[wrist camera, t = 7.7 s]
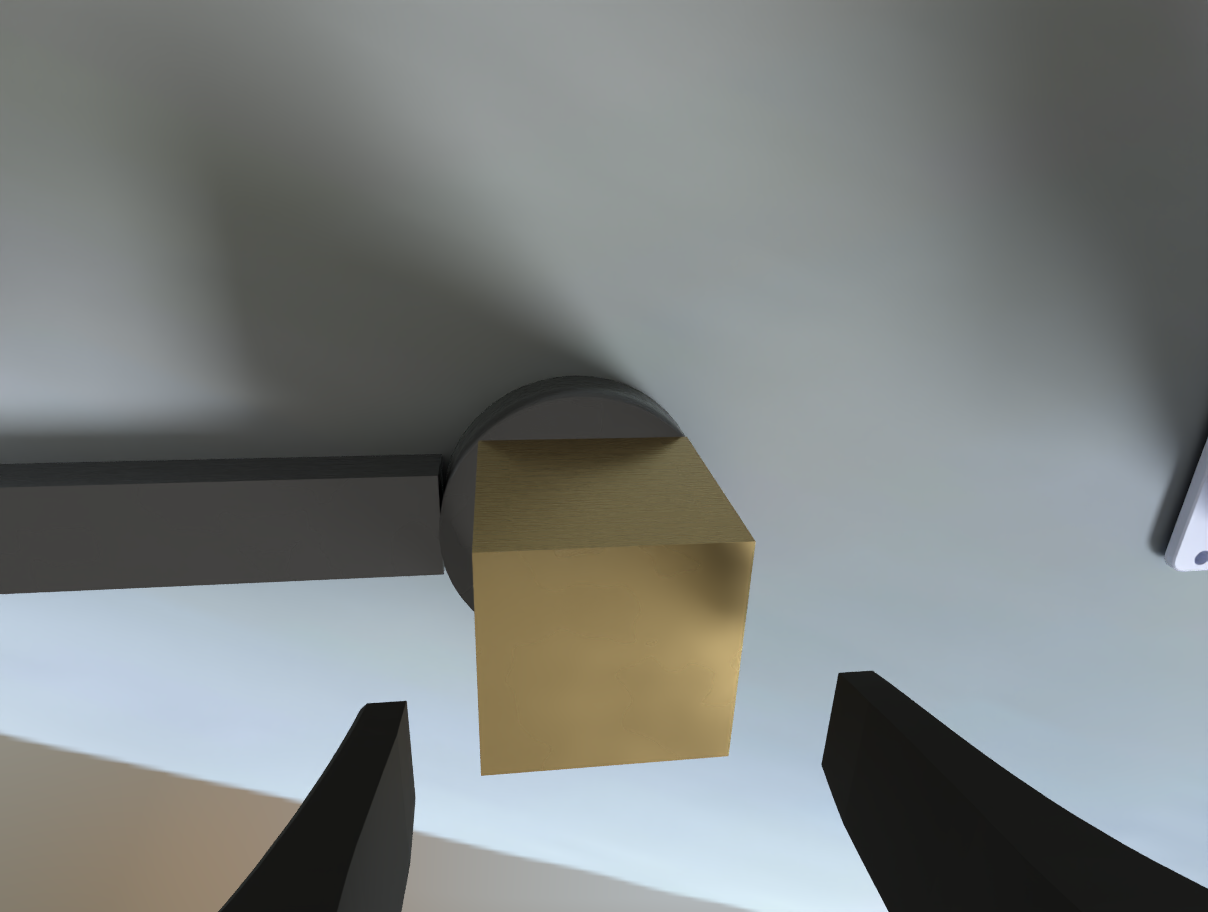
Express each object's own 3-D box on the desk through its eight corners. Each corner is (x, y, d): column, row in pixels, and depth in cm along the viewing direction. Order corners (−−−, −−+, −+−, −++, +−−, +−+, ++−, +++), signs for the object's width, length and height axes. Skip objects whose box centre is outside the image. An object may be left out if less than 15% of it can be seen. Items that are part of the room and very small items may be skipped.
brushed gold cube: (687, 436, 18) (755, 541, 13) (672, 610, 20) (728, 756, 15) (478, 440, 17) (472, 552, 13) (484, 619, 19) (481, 776, 15)
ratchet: (707, 374, 20) (761, 434, 16) (687, 599, 22) (730, 699, 18) (-97, 381, 17) (-280, 455, 13) (-10, 635, 20) (-139, 760, 16)
